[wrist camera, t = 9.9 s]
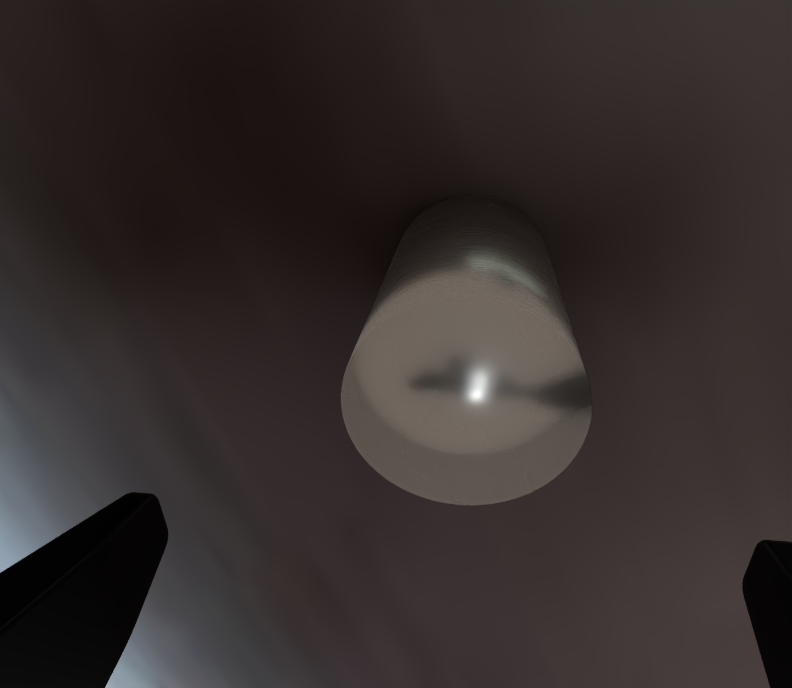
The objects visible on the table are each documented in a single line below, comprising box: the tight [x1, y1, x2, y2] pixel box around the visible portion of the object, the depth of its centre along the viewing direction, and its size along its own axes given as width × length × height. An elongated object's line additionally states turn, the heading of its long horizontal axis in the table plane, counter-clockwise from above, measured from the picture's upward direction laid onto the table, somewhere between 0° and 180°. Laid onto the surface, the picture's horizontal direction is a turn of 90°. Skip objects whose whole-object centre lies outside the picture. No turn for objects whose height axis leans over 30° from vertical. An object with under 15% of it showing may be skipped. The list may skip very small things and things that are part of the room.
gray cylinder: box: [341, 195, 592, 505], centre depth 15 cm, size 5×5×8 cm
